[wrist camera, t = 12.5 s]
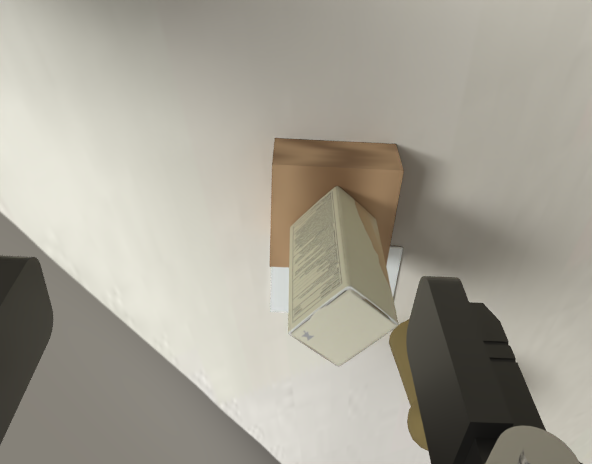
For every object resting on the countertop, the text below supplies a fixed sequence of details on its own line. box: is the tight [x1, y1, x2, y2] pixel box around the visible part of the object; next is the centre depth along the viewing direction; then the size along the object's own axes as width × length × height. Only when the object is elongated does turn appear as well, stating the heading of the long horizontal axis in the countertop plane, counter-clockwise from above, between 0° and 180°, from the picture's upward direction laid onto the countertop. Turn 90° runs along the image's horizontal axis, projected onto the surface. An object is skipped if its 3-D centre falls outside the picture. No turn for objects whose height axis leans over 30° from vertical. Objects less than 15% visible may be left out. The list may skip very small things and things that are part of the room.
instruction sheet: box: [270, 246, 403, 313], centre depth 49 cm, size 11×8×1 cm
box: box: [288, 186, 398, 366], centre depth 36 cm, size 5×4×11 cm
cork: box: [389, 320, 428, 450], centre depth 49 cm, size 6×6×11 cm
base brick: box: [270, 138, 404, 267], centre depth 42 cm, size 9×9×4 cm
